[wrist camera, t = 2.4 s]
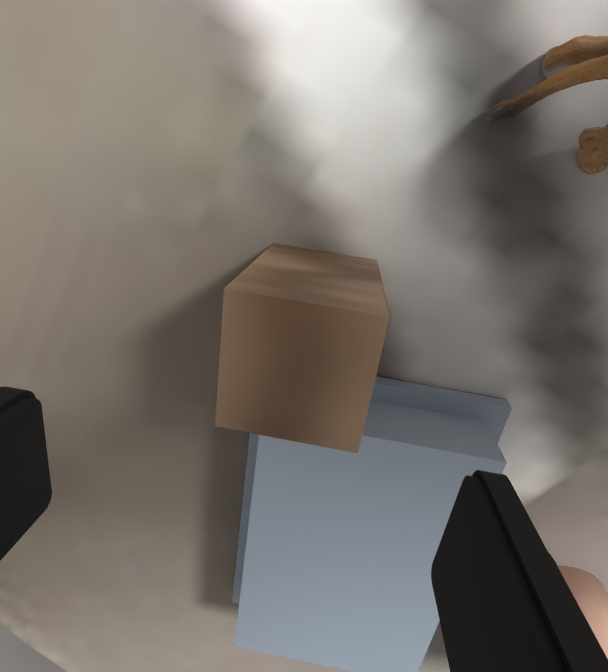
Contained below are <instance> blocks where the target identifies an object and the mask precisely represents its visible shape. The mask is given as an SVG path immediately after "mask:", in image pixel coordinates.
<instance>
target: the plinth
mask: <svg viewBox="0 0 608 672" xmlns="http://www.w3.org/2000/svg"><path fill="white" fill-rule="evenodd" d="M510 410H511V406H510V405H509V403H508V402H507V400H506V399H500V398H495V397H489V396H483V395H478V394H472V393H467V392H461V391H456V390H450V389H444V388H439V387H433V386H428V385H422V384H416V383H411V382H405V381H400V380H394V379H388V378H383V377H377V376H376V379H375V383H374V388H373V392H372V396H371V400H370V404H369V409H368V413H367V417H366V421H365V425H364V429H363V434H362V438H361V442H360V446H359V450H358V453H353V452H348V451H342V450H337V449H332V448H327V447H321V446H316V445H311V444H305V443H300V442H295V441H290V440H284V439H279V438H274V437H268V436H263V435H258V434H253V433H250V436H249V445H248V454H247V464H246V473H245V482H244V492H243V501H242V510H241V520H240V529H239V539H238V548H237V557H236V567H235V576H234V585H233V595H232V603H235V604H239V610H238V618H237V627H236V635H235V644H234V646H235V647H239V648H244V649H248V650H253V651H258V652H262V653H267V654H271V655H276V656H281V657H285V658H290V659H294V660H299V661H304V662H308V663H313V664H317V665H322V666H327V667H331V668H336V669H340V670H345V671H350V672H418V671H419V668H420V666H421V664H422V661H423V659H424V656H425V654H426V652H427V649H428V647H429V645H430V642H431V640H432V638H433V635H434V633H435V630H436V628H437V626H438V623H439V621H440V620H439V615H438V610H437V605H436V601H435V596H434V591H433V586H432V581H431V568H432V563H433V560H434V557H435V555H436V552H437V549H438V547H439V544H440V541H441V538H442V536H443V533H444V530H445V527H446V525H447V522H448V519H449V517H450V514H451V511H452V508H453V506H454V503H455V500H456V498H457V495H458V492H459V489H460V487H461V484H462V481H463V479H464V477H465V476H467V475H469V476H472V475H473V473H474V472H475V471H476V470H481V471H486V472H492V473H498V474H502V471H503V469H504V467H505V464H506V460H505V458H504V456H503V455H502V453H501V451H500V449H499V447H498V445H497V443H498V440H499V438H500V435H501V433H502V430H503V428H504V425H505V423H506V420H507V418H508V415H509V413H510Z"/></svg>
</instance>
